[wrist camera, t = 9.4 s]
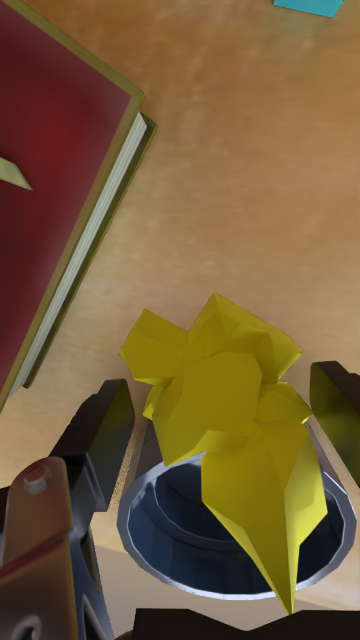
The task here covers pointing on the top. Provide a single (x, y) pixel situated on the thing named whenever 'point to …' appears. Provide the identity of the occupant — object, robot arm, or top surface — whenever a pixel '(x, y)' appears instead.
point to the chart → (312, 6)
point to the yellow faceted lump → (235, 428)
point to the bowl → (215, 528)
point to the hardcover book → (55, 178)
